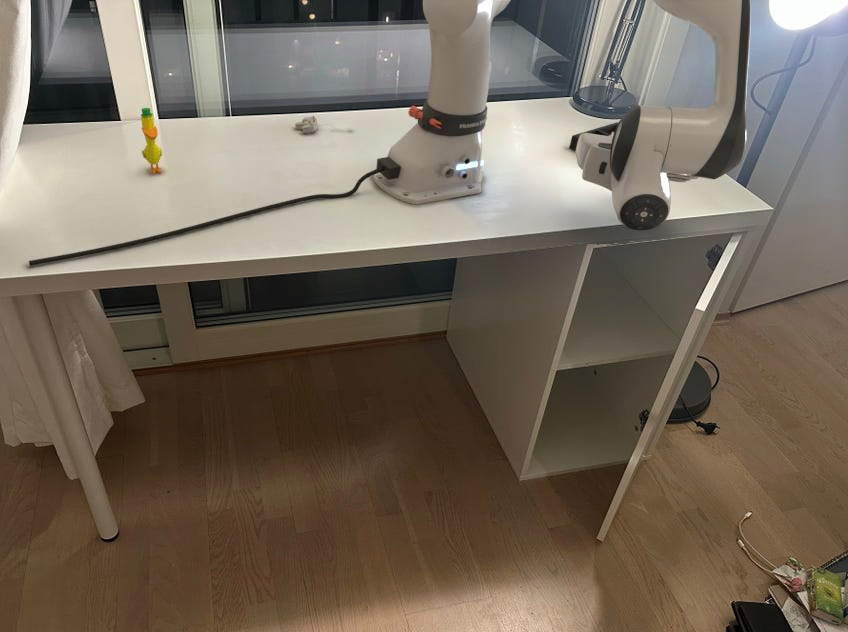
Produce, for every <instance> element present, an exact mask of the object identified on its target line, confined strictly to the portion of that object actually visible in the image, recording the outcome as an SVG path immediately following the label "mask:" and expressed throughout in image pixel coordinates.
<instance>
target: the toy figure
mask: <svg viewBox="0 0 848 632" xmlns="http://www.w3.org/2000/svg"><path fill="white" fill-rule="evenodd" d="M140 110H141V114H140V119H141V131H142V133H143V136H144V139H145V142H146V145H145V146H144V149H143V150H141V154H142V157H143V158H144V159H145V160H146V161H147V162H148V164H150V174H151V175H156V173H157V174H159V175H160V174H162V169H161V167H160V166H159V162H160V161H161V158H162V156H163V151H162V148H161V147H160V146H158V145H157V143H156V139H157V137H158V133H159V132H158V131H159V130H158V128H157V126H156V125H155V121H154V115H153V114H154V113H153V112H151V108H150V107H143V108H141V109H140ZM154 165H155V167H154Z"/></svg>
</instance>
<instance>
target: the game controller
mask: <svg viewBox="0 0 848 632" xmlns="http://www.w3.org/2000/svg"><path fill="white" fill-rule="evenodd" d="M294 125H295V129H296V130H302V133H303V134H307V133H312V132H315V131H316V130H317V129H318V127H320V125H319V124H318V119H317V117H316V116H314V115H312V116H305V117H303V118H302V119H301V121H298V122H297V121H296V122H295V123H294ZM323 125H328V126H329V124H328V123H327V124H326V123H324V124H321V127H323ZM334 129H335V130H337V128H334ZM347 129H348V130H350V128H348V127H347Z"/></svg>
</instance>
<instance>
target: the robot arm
mask: <svg viewBox="0 0 848 632" xmlns="http://www.w3.org/2000/svg"><path fill="white" fill-rule="evenodd" d="M511 1H512V0H422V11H423V15H424V18H425V20H426V22H427V24H428V29H429V41H430V55H431V56H430V70H429V71H430V72H429V80H428V89H427V90H428V91H427V98H426V99H425V101H424V103H423V105H422V108H419V107H418V106H416V105H410V107H409V109H408V111H407V112H408V115H409V117H410V118H414V120H417V123H415V125H413V126H412V127H411V128H410V130H408V131H407V132H406V133H405V134H404V135H403V136H402V137H401V138H400V139H399V140H398V141H397V142H396V143H395V144H393V145H392V146H391V147H390V148H389V151H388V154H387V156H385V157H380V158H379V157H378V158H377V159H376V168H375V169H373V170H371V171H369V172H367V173H365V174H363V175H362V176H361V177H360V178H358V179H357V182H355V185H354V187H353V188H352V189H351V190H349V191H346V192H344V193H338V194H334V193H330V194H329V193H319V194H312V195H311V194H310V195H307V196H302V197H298V198H293V199H289V200H285V201H281V202H277V203H273V204H269V205H265V206H261V207H258V208H253V209H250V210H246V211H242V212H238V213H235V214H232V215H228V216H224V217H220V218H216V219H212V220H209V221H205V222H202V223H198V224H194V225H190V226H187V227H183V228H180V229H175V230H172V231H167V232H163V233H159V234H155V235H151V236H147V237H142V238H138V239H134V240H129V241H125V242H120V243H116V244H111V245H106V246H101V247H97V248H92V249H87V250H82V251H77V252H70V253H66V254H65V253H64V254H60V255H54V256H49V257H43V258H37V259H32V260H28V264H29V267H31V266H37V265H41V264H49V263H54V262H59V261H65V260H70V259H75V258H81V257H86V256H90V255H96V254H101V253H107V252H110V251H115V250H121V249H125V248H128V247H129V248H130V247H134V246H138V245H142V244H146V243H150V242H154V241H158V240H162V239H166V238H171V237H174V236H177V235H181V234H185V233H190V232H194V231H196V230H201V229H203V228H208V227H212V226H214V225H218V224H222V223H226V222H229V221H233V220H236V219H240V218H243V217H248V216H252V215H255V214H258V213H262V212H266V211H270V210H275V209H278V208H283V207H287V206H290V205H295V204H298V203H303V202H308V201H311V200H318V199H319V200H320V199H342V198H348V197H351V196H352V195H354V194H355V193H357V192H358V189H359V188H360V187H361V185H362V183H363V182H365V180H367V179H369V178H370V177H372V180H373V182H374V184H375V185H376V186H377V187H378V188H380V189H381V190H383V191H384V192H385V193H387V194H389V195H390V196H392V197H393V198H396V199H398V200H400V201H402V202H405V203H408V204H413V205H421V204H426V203H432V202H439V201H443V200H448V199H454V198H460V197H465V196H471V195H476V194H480V193H481V192H482V181H483V172H482V166H484V163H485V160H483V159H482V153H483V149H482V148H483V130H484V129H485V127H486V124H487V123H486V122H487V119H488V116H487V115H488V106H487V100H488V95H489V88H490V83H491V77H492V71H493V60H492V59H491V28H492V24H493V20H494V18H495V17H496V16H498V15H499V14H500V13H502V12H503V11H504V10H505V9H506V8H507V6H508V5H509V3H510V2H511ZM653 2H654V3H655V4H656V5H657V6H658V7H659V8H660V9H662V10H663V11H665V12H666V13H668V14H670V15H671V16H673V17H676V18H678V19H679V20H682V21H684V22H686V23H688V24H691V25H693V26H694V27H696V28H698V29H699V30H701V31H703V32H704V33H705V34H706V35H708V37H709V38H710V40H711V42H712V43H713V47H714V50H715V52H714V53H715V55H714V56H715V58H714V79H713V95H712V96H713V97H712V98H713V99H712V104H711V106H709V107H707V108H706V107H705V108H693V107H677V106H676V107H675V106H674V107H673V106H668V105H666V106H664V105H661V106H660V105H639V104H638V105H636V106H635V107H633V108H631V109H630V110H629V111H628V112H626V113H625V114H624V115H623V116H622V118H621V119H619V121H617V122H618V124H617V126H616V129H615V132H612V133H611V135H610V136H604V135H597V134H591V133H583V132H581V133H582V134H580V136H579V140H578V143H577V147H576V152H575V159H576V163H577V166H578V168H580V170H582V173H581V178H582V180H583V181H586V182H589V183H591V184H595V185H597V186H600V187H602V188H605V189H607V190H608V191H610V192H611V200H612V205H613V209H614V212H615V215H616V217H617V219H618V220H619V222H620V223H621V224H622V225H623V226H624V227H625V228H628V229H630V230H634V231H649V230H653V229H655V228H657V227H659V226H661V225H662V224H663V223H664V222H665V221H666V220H667V219H668V217H669V215H670V212H671V206H672V190H671V183H670V182H675V183H686V182H688V181H691V180H697V179H698V178H702V179H708V180H717V179H718V178H721V177H722V176H725V175H726V174H728V173H730V172H731V171H732V170H734V169H735V168H736V167H737V166H739V165H740V164H741V161H742V158H743V157H744V153H745V151H746V145H747V114H746V113H747V112H746V111H747V92H748V91H747V90H748V79H749V77H748V76H749V75H748V74H749V63H750V62H749V61H750V48H751V47H750V45H751V25H752V24H751V23H752V8H751V7H752V5H751V0H653Z"/></svg>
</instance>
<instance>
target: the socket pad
mask: <svg viewBox="0 0 848 632" xmlns="http://www.w3.org/2000/svg"><path fill="white" fill-rule="evenodd" d="M618 122H619V121H616V122H613V123H609V124H607V125H603V126H599V127H596V128H593V129H590V130H587V131H583V132H580V133H576V134H573V135H572V136H571V139H570V143H569V147H568V150H571V151H573V152H575V153H576V147H577V143H578V140H579V136H580V134H582V133H591V134H597V135H604V136H610V135H611V133H612V132H615V129H616V126H617V124H618Z"/></svg>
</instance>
